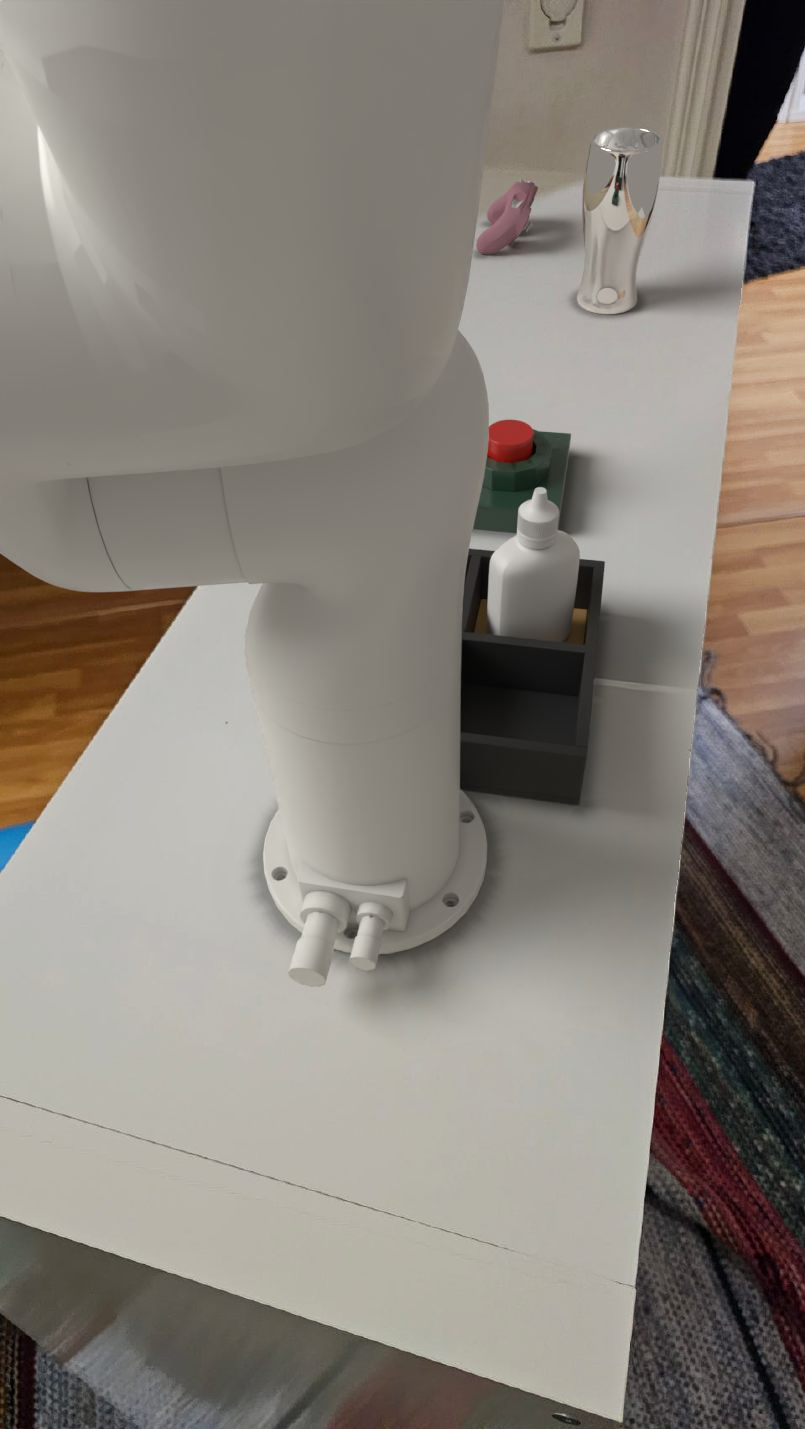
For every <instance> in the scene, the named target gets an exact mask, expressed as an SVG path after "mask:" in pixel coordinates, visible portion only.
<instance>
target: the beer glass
mask: <svg viewBox="0 0 805 1429" xmlns="http://www.w3.org/2000/svg"><path fill="white" fill-rule="evenodd" d="M663 138H664V137H663V136H662V134H659V132H657V131H655V130H652V129H649V128H644V127H638V126H614V127H607V128H603V129H600V130H597V131H596V132H594V133H593V134H591V136H590V137H589V146H588V152H587V158H586V163H585V169H584V176H583V184H582V197H581V198H582V200H581V208H582V209H581V212H582V214H581V218H582V233H583V246H584V247H583V248H584V265H583V273H582V278H581V281H580V285H579V288H578V291H577V295H576V302H577V304H578V305H579V306H580V307H581V308H582V309H584V310H586V311H588V312H590V313H594V314H598V315H617V314H623V313H626V312H628V311H630V310H632V309H633V308H634V307H636V305H637V302H638V288H637V286H638V285H637V274H638V267H639V263H640V257H641V255H642V251H643V247H644V244H645V241H646V239H647V235H648V233H649V229H650V225H651V222H652V219H653V216H654V212H655V208H656V204H657V200H658V199H657V198H658V192H659V188H660V179H661V178H660V177H661V169H662V168H661V167H662V154H663V152H662V151H663V143H664V139H663Z"/></svg>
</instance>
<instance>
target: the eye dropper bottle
mask: <svg viewBox="0 0 805 1429" xmlns="http://www.w3.org/2000/svg"><path fill="white" fill-rule="evenodd" d="M558 521H559V522H560V520H559V509H558V507H557V506H556V505H555V504H554V503H553V502H551V501H549V500H548V498H547V491H546V489H545V488H543V487H538V488H536V489H535V490H534V493H533V497H532V499H531V500H528V501H526V502H524V503H523V504H521V505H520V507H519V509H518V522H517V533H516V534H515V535H513V536H512V537H510V538H509V539H507V540H506V541H505V542H503V543H502V544H501V545H500V546H498V548H496V550H494V551H495V552H494V553H493V555H492V557H491V559H490V565H489V582H488V605H487V632H486V634H489V635H498V636H508V637H517V638H526V639H535V640H545V641H554V642H564V641H565V640H566V639H567V638H568V636H569V634H570V632H571V627H572V619H573V611H574V603H575V595H576V587H577V579H578V570H579V560H580V559H581V553H580V551H581V550H580V547H579V545H578V544H577V543H576V541H575V540H574V539H573V537H572V536H571V535H570V534H569V533H567V532H565V531H563V530H559V527H558Z"/></svg>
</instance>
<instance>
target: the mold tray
mask: <svg viewBox="0 0 805 1429" xmlns="http://www.w3.org/2000/svg"><path fill="white" fill-rule="evenodd" d="M495 551H496V550H489V549H477V548H469V551H468V558H467V565H466V572H465V582H464V593H463V607H462V642H461V710H460V789H461V790H462V791H466V792H474V793H482V794H489V795H498V796H503V797H512V798H519V799H527V800H533V801H534V800H535V801H540V802H542V801H543V802H548V803H549V802H550V803H556V804H564V805H569V806H570V805H571V806H579V805H580V802H581V796H582V790H583V784H584V777H585V771H586V766H587V759H588V751H589V741H590V731H591V730H590V729H591V717H592V708H593V696H594V688H595V687H594V686H595V676H596V662H597V653H598V642H599V631H600V620H601V611H602V610H601V609H602V598H603V589H604V588H603V587H604V578H605V568H606V567H605V566H606V565H605V564H606V561H605V560H595V559H584V558H580V560H579V570H578V579H577V587H576V595H575V603H574V611H573V619H572V627H571V632H570V634H569V636H568V638H567V639H566V640H565V641H564V642H554V641H545V640H535V639H526V638H517V637H508V636H498V635H489V634H486V632H487V605H488V582H489V565H490V559H491V557H492V555H493V553H494V552H495Z"/></svg>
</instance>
